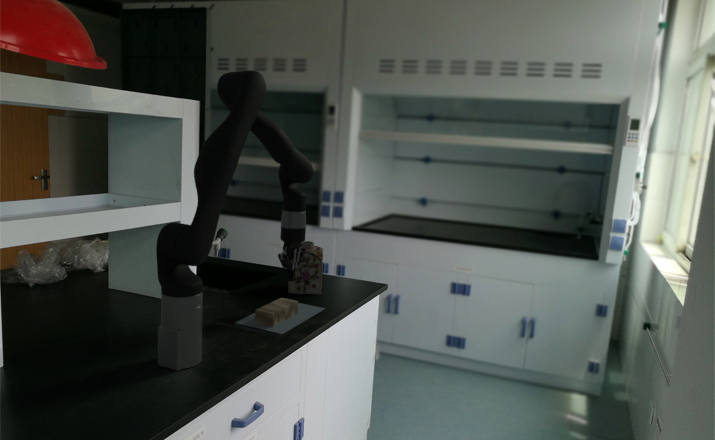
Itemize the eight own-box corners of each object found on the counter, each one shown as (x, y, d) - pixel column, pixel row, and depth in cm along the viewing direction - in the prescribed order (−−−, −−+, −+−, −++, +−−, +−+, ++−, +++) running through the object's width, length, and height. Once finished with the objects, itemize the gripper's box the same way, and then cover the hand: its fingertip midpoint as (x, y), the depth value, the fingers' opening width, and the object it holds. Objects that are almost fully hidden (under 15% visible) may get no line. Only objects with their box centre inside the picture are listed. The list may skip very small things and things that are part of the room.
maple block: (297, 313, 160) (272, 327, 147) (280, 309, 163) (255, 323, 150) (298, 301, 160) (273, 313, 147) (281, 297, 162) (255, 309, 149)
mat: (282, 336, 143) (282, 334, 143) (234, 325, 149) (234, 322, 149) (325, 310, 167) (325, 308, 167) (282, 301, 173) (282, 299, 173)
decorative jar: (321, 287, 193) (323, 239, 190) (321, 296, 181) (324, 246, 179) (288, 286, 192) (290, 238, 189) (287, 295, 180) (289, 244, 178)
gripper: (293, 221, 165) (291, 274, 168) (270, 226, 153) (268, 283, 155) (314, 224, 162) (311, 278, 165) (293, 229, 150) (290, 287, 153)
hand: (290, 280), depth 160 cm, fingers closed
